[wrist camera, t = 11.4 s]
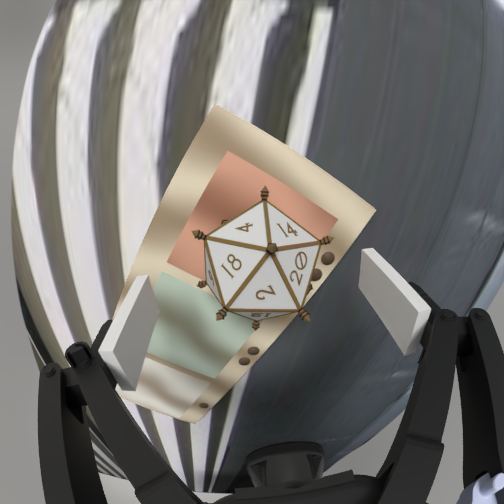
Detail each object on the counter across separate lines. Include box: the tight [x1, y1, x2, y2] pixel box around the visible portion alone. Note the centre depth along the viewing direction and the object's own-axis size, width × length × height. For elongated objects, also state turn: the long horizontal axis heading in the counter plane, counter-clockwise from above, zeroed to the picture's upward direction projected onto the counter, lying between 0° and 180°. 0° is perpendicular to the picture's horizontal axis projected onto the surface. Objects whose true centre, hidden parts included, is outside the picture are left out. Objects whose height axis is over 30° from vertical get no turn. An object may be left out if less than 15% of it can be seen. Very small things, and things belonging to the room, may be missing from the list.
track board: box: [113, 104, 376, 424], centre depth 26 cm, size 35×15×1 cm, turn 149°
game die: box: [192, 185, 334, 331], centre depth 18 cm, size 9×8×10 cm
